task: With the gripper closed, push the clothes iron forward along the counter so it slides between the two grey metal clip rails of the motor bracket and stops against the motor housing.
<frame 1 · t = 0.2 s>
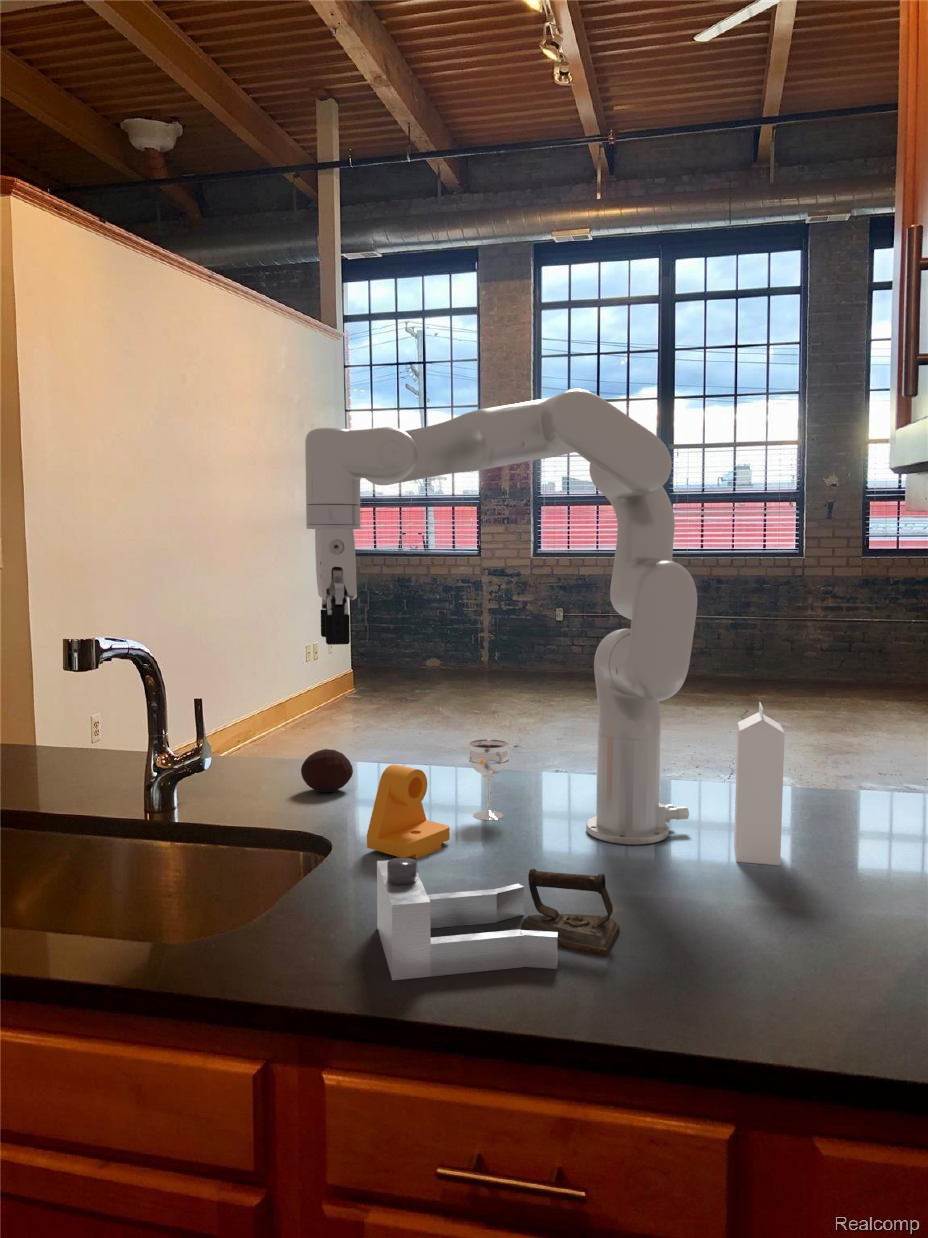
hand: (334, 640, 128), 31 cm above the worktop, tool pointing down, fingers open, 9 cm apart
clothes iron: (566, 938, 104), on the worktop
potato: (327, 792, 163), on the worktop
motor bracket: (464, 945, 101), on the worktop
milk: (756, 858, 130), on the worktop
wineglass: (488, 816, 149), on the worktop
bracket: (410, 850, 133), on the worktop
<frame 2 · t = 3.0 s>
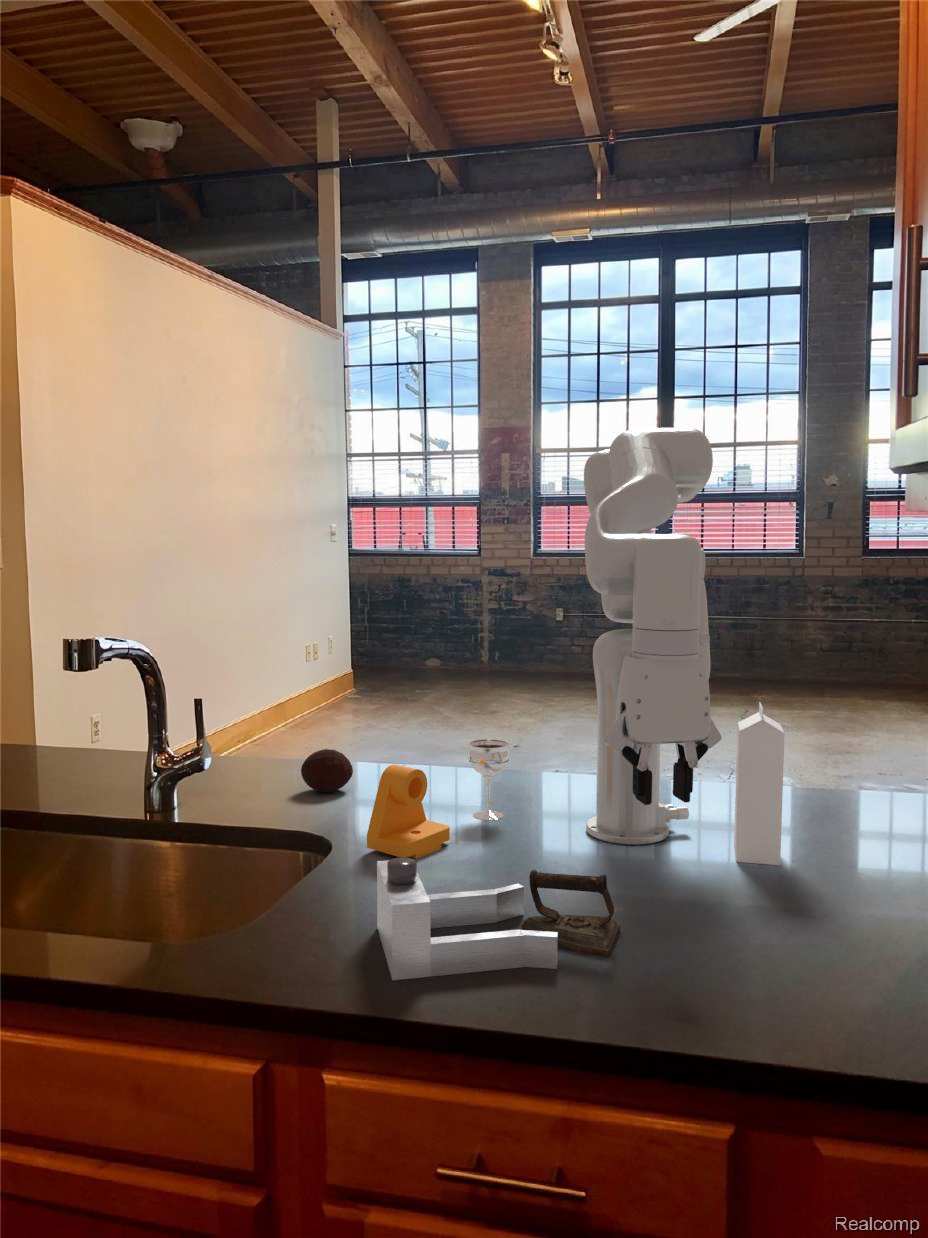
hand: (662, 798, 105), 15 cm above the worktop, tool pointing down, fingers open, 4 cm apart
nothing on the worktop moved.
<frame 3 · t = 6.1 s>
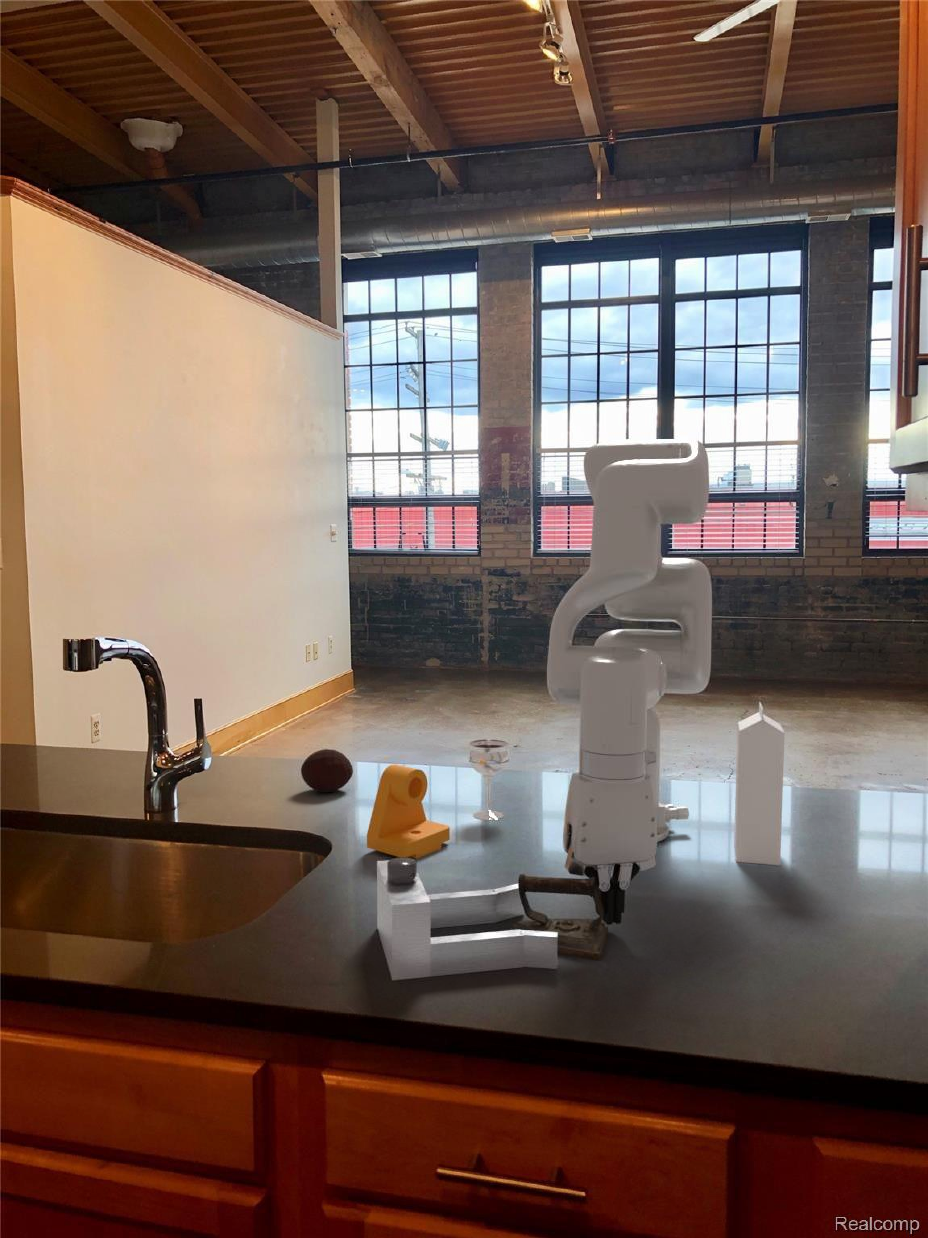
hand: (609, 919, 105), 1 cm above the worktop, tool pointing down, fingers closed
clothes iron: (556, 943, 103), on the worktop, touching gripper
everything else where it was.
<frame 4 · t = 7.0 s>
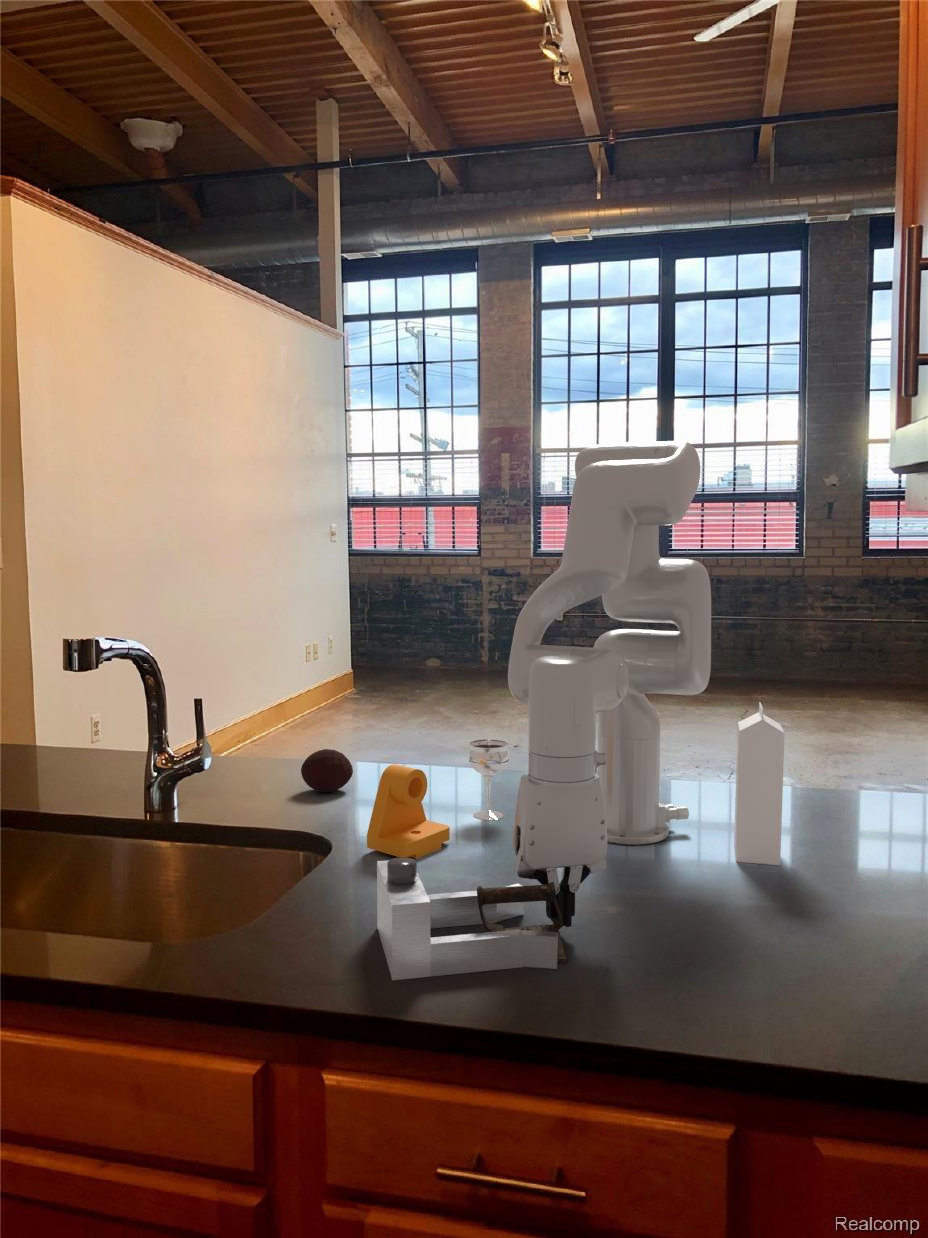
hand: (560, 922, 104), 2 cm above the worktop, tool pointing down, fingers closed
clothes iron: (514, 953, 101), on the worktop, touching gripper
everything else where it was.
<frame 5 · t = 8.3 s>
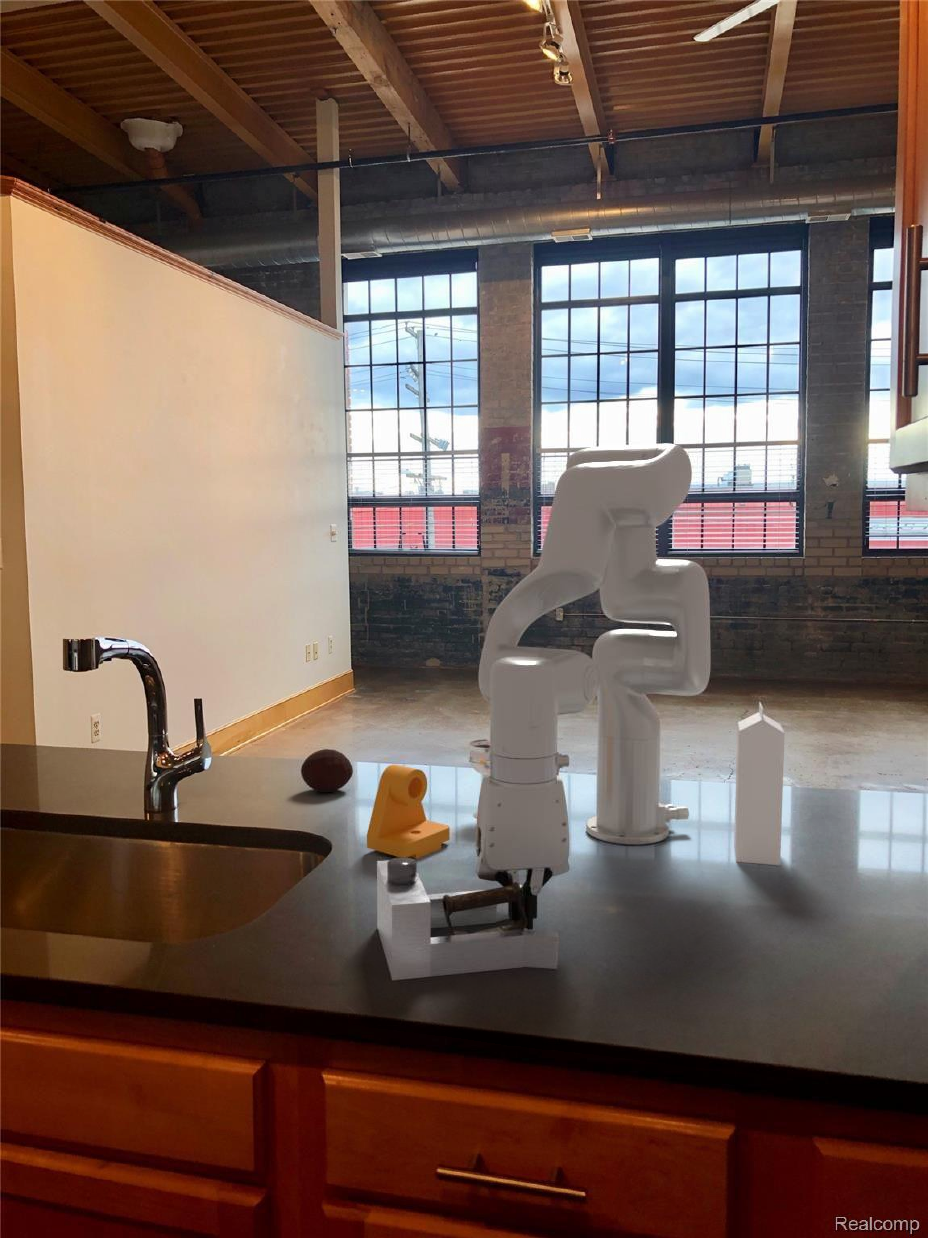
hand: (522, 925, 103), 2 cm above the worktop, tool pointing down, fingers closed
clothes iron: (479, 958, 100), on the worktop, touching gripper, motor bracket
everything else where it was.
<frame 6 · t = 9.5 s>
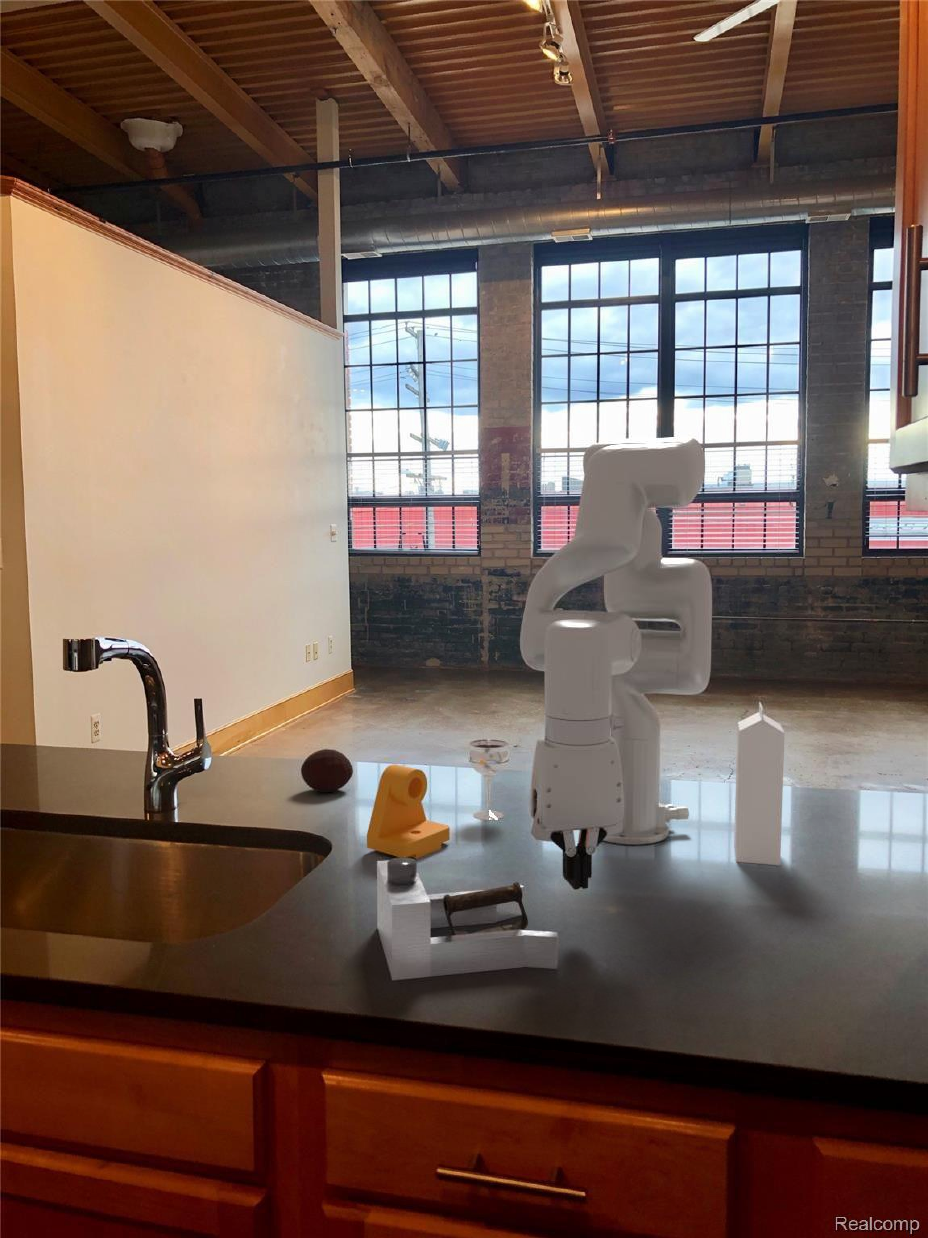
hand: (577, 884, 105), 6 cm above the worktop, tool pointing down, fingers closed
clothes iron: (480, 958, 100), on the worktop, touching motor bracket
everything else where it was.
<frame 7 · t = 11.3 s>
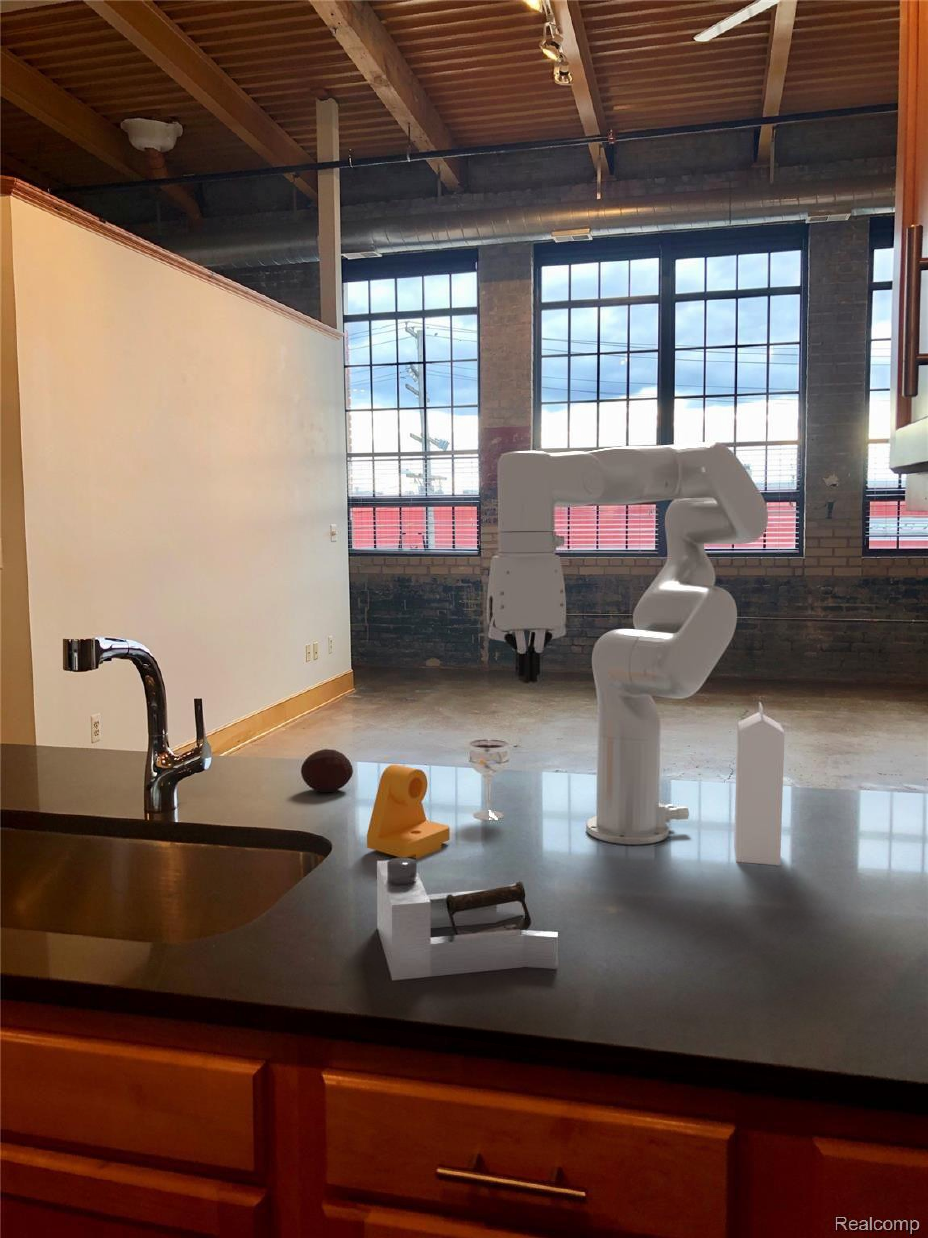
hand: (527, 680, 123), 26 cm above the worktop, tool pointing down, fingers closed
nothing on the worktop moved.
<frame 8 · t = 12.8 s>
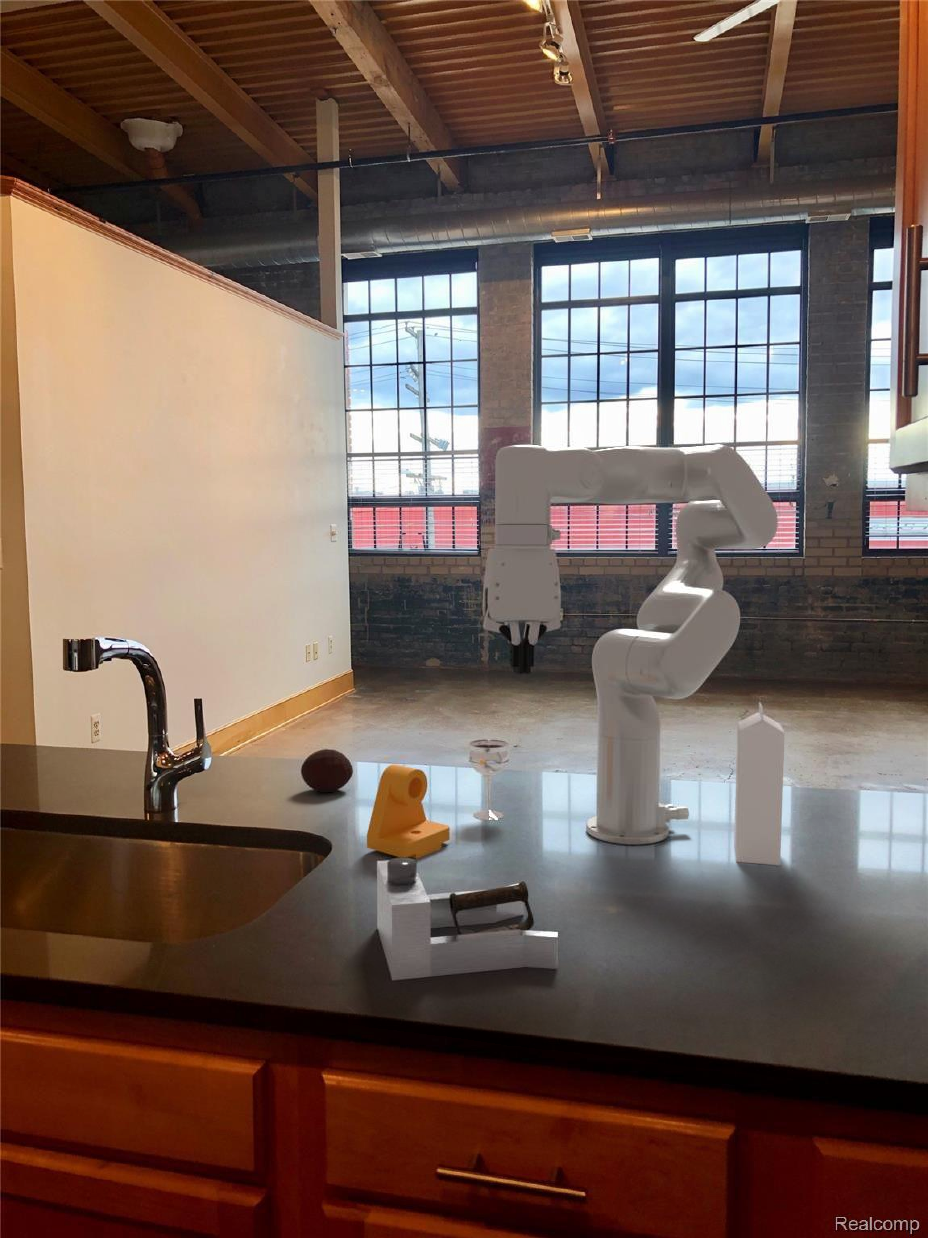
hand: (521, 672, 124), 27 cm above the worktop, tool pointing down, fingers closed
nothing on the worktop moved.
at the end: clothes iron inside the target area on the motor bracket (2.2 cm from its centre), point -0.7 cm above the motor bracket's base; clothes iron tilted 0°; clothes iron moved 10.2 cm from its start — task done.
